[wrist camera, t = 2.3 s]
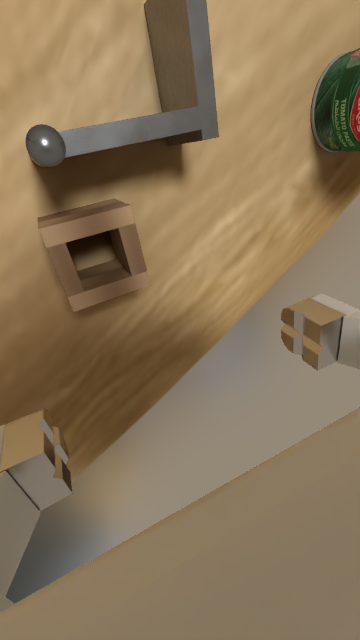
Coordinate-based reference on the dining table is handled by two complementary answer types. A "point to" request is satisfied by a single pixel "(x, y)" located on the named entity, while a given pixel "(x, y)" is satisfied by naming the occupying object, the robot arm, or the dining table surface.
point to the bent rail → (173, 83)
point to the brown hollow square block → (105, 277)
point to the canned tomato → (338, 105)
